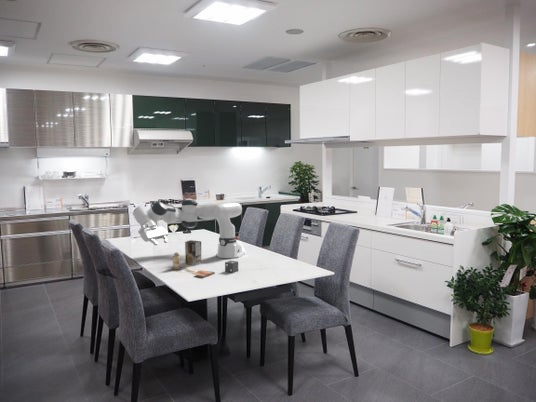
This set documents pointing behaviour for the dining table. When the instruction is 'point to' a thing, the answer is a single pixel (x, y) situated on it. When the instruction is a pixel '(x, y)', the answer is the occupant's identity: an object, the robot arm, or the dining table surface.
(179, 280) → the dining table surface
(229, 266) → the die
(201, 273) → the game board
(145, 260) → the dining table surface
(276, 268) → the dining table surface
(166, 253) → the dining table surface
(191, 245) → the coffee box
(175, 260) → the pawn
